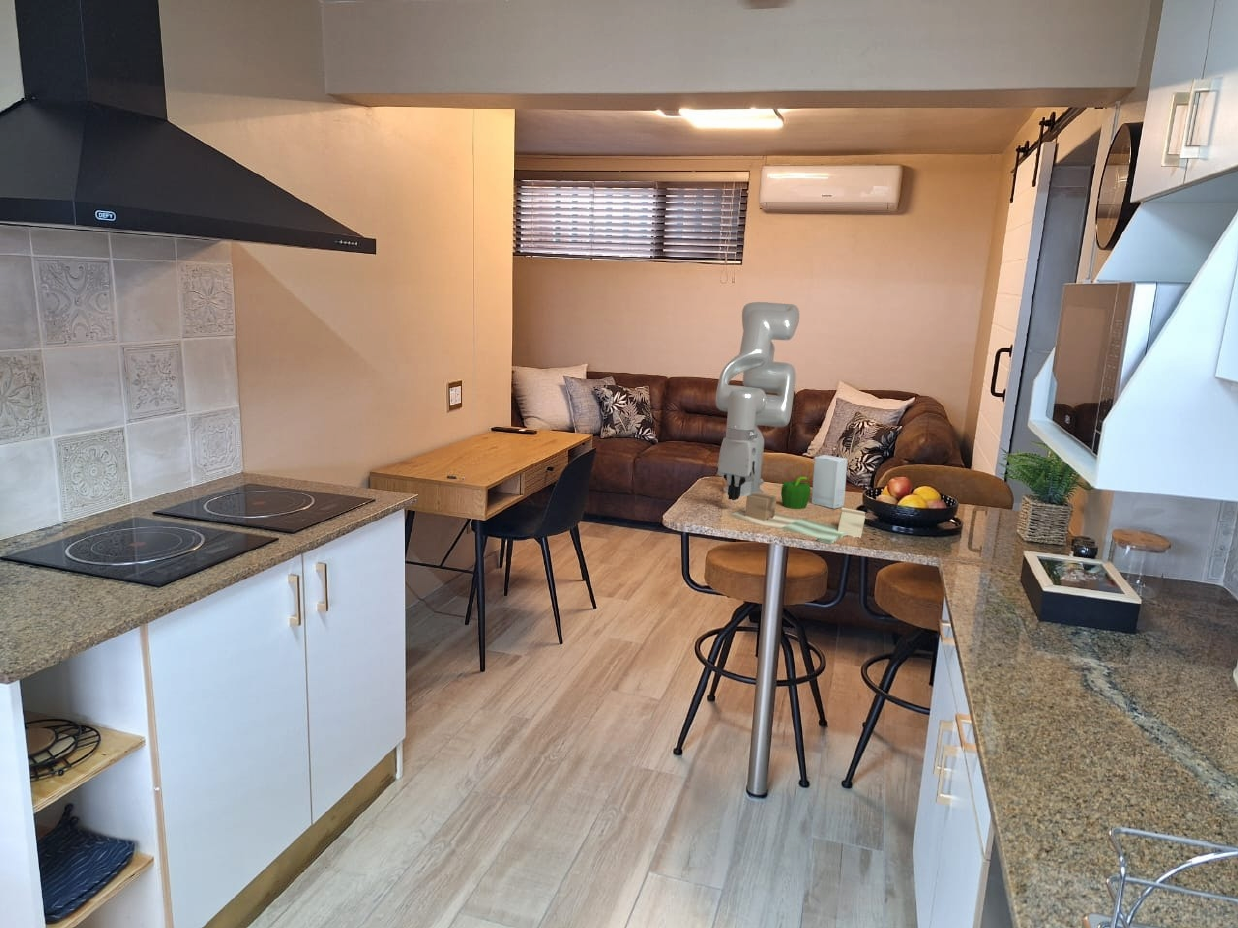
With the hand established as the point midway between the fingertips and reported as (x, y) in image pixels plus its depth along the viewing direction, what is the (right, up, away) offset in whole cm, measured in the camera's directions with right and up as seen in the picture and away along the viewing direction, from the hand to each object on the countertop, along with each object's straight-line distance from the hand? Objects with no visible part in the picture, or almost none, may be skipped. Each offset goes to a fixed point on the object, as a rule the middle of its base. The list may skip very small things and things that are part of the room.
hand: (733, 498), depth 229 cm
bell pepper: (+19, -4, +10) cm, 22 cm away
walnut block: (+7, -5, -4) cm, 9 cm away
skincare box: (+31, -3, +18) cm, 36 cm away
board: (+13, -7, -8) cm, 17 cm away
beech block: (+29, -9, -11) cm, 33 cm away
